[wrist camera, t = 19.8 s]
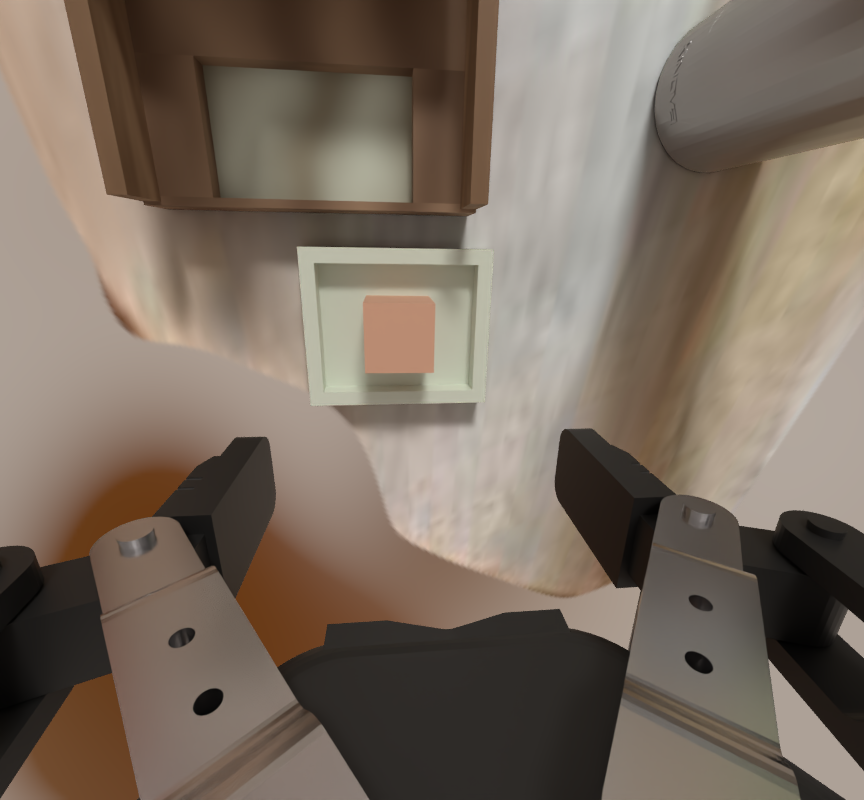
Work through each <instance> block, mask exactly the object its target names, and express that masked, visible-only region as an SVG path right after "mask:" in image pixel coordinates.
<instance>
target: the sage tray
mask: <svg viewBox="0 0 864 800" xmlns="http://www.w3.org/2000/svg"><path fill="white" fill-rule="evenodd" d="M297 255H298V267H299V278H300V290H301V301H302V313H303V324H304V336H305V347H306V359H307V370H308V381H309V393H310V403H311V406H332V405H381V404H430V403H478V402H485V389H486V372H487V355H488V339H489V322H490V306H491V289H492V272H493V256H494V250H486V249H421V248H356V247H297ZM366 295H384V296H429V297H430V298H431V299H432V300H433V301H434V303H435V343H434V373H365V355H364V325H363V301H364V299H365V297H366Z"/></svg>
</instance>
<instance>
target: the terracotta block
mask: <svg viewBox="0 0 864 800" xmlns="http://www.w3.org/2000/svg"><path fill="white" fill-rule="evenodd" d="M363 325H364V355H365V373H434V343H435V303H434V301H433V300H432V299H431V298H430V297H429V296H384V295H366V297H365V299H364V301H363Z"/></svg>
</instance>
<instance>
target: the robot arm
mask: <svg viewBox="0 0 864 800" xmlns="http://www.w3.org/2000/svg"><path fill="white" fill-rule="evenodd" d="M655 120H656V128H657V131H658V134H659V138H660V141H661V143H662V144H663V146H664V148H665V150H666V152H667V153H668V154H669V155H670V156H671V157H672V158H673V159H674V161H675V162H676V163H678V164H680V165H681V166H683V167H685V168H686V169H689V170H692V171H696V172H709V173H711V172H716V171H720V170H725V169H729V168H734V167H738V166H743V165H747V164H752V163H756V162H762V161H766V160H771V159H775V158H779V157H784V156H788V155H792V154H797V153H801V152H805V151H810V150H814V149H818V148H823V147H827V146H832V145H836V144H840V143H845V142H849V141H853V140H858V139H862V138H864V0H731V1H729V2H728V3H727V4H725V5H724V6H723V7H721V8H720V9H718V10H717V11H716V12H714V13H713V14H712V15H710V16H709V17H707V18H706V19H705V20H703V21H702V22H701V23H699V24H698V25H697V26H695V27H694V28H693V29H691V30H690V31H689V32H688V33H687V34H686V35H685V36H684V37H683V38H682V39H681V40H680V41H679V43H678V44H677V45H676V46H675V48H674V50H673V51H672V53H671V54H670V56H669V57H668V59H667V61H666V63H665V66H664V68H663V70H662V73H661V75H660V78H659V83H658V87H657V91H656V97H655ZM555 491H556V495H557V498H558V501H559V502H560V504H561V505H562V507H563V508H564V510H565V511H566V513H567V514H568V516H569V517H570V519H571V520H572V522H573V523H574V525H575V527H576V528H577V530H578V531H579V533H580V534H581V536H582V537H583V539H584V540H585V542H586V543H587V545H588V546H589V548H590V549H591V551H592V552H593V554H594V555H595V557H596V558H597V560H598V561H599V563H600V564H601V566H602V567H603V569H604V570H605V572H606V573H607V575H608V576H609V578H610V579H611V581H612V582H613V584H614V585H615V587H616V588H627V587H639V589H640V590H641V592H640V596H639V601H638V605H637V610H636V615H635V619H634V624H633V629H632V634H631V638H630V643H629V648H628V650H626V649H625V648H623V647H621V646H619V645H617V644H615V643H613V642H611V641H608V640H606V639H604V638H602V637H599V636H596V635H593V634H591V633H587V632H583V631H579V630H575V629H569V628H568V626H567V624H566V622H565V619H564V617H563V615H562V613H561V611H560V609H554V610H539V611H523V612H508V613H502V614H499V615H496V616H492V617H489V618H486V619H483V620H480V621H476V622H473V623H470V624H467V625H464V626H460V627H457V628H453V629H438V628H432V627H425V626H418V625H412V624H406V623H399V622H393V621H373V622H358V623H342V624H328V625H327V631H326V637H325V642H324V645H323V646H320V647H317V648H314V649H311V650H309V651H307V652H304V653H302V654H300V655H298V656H296V657H294V658H292V659H290V660H288V661H287V662H285V663H283V664H282V665H280V666H279V667H276V665H275V663H274V662H273V660H272V658H271V657H270V655H269V654H268V652H267V650H266V649H265V647H264V645H263V644H262V642H261V641H260V639H259V637H258V636H257V634H256V632H255V631H254V629H253V628H252V626H251V624H250V622H249V621H248V619H247V617H246V616H245V614H244V613H243V611H242V609H241V608H240V606H239V604H238V603H237V601H236V600H235V598H236V595H237V593H238V591H239V589H240V586H241V584H242V582H243V580H244V577H245V575H246V573H247V571H248V568H249V566H250V564H251V561H252V559H253V557H254V555H255V553H256V550H257V548H258V546H259V544H260V541H261V539H262V537H263V534H264V532H265V530H266V528H267V525H268V523H269V521H270V519H271V516H272V514H273V511H274V508H275V500H276V490H275V482H274V474H273V466H272V458H271V451H270V444H269V441H268V439H267V437H236V438H235V439H234V440H233V441H232V442H231V444H230V445H229V446H228V447H227V448H226V450H225V451H224V452H223V453H222V454H221V456H214V457H212V458H210V459H208V460H207V461H205V462H203V463H202V464H200V465H198V466H197V467H196V468H195V469H194V470H193V471H192V472H191V473H190V475H189V476H188V477H187V478H186V480H184V481H183V482H182V484H181V485H180V486H179V487H178V490H176V491H174V493H173V494H172V495H171V496H170V497H169V498H168V499H167V500H166V502H165V503H164V504H163V505H162V506H161V507H160V509H159V510H158V511H157V512H156V513H155V514H154V515H153V516H152V517H150V518H143V519H139V520H136V521H132V522H129V523H127V524H124V525H121V526H119V527H117V528H115V529H113V530H111V531H110V532H108V533H106V534H105V535H103V536H102V537H101V538H100V539H99V540H98V541H97V542H96V543H95V544H94V545H93V547H92V548H91V550H90V556H87V557H83V558H79V559H75V560H70V561H65V562H62V563H57V564H53V565H48V566H44V567H40V566H39V564H38V561H37V558H36V556H35V553H34V551H33V550H32V549H30V548H29V547H25V546H7V547H0V798H1V796H2V795H3V794H4V792H5V790H6V789H7V787H8V786H9V784H10V783H11V781H12V780H13V778H14V777H15V775H16V774H17V772H18V771H19V769H20V768H21V766H22V765H23V763H24V761H25V760H26V759H27V757H28V756H29V754H30V752H31V751H32V749H33V748H34V746H35V745H36V743H37V742H38V740H39V739H40V737H41V736H42V734H43V733H44V731H45V729H46V728H47V727H48V725H49V724H50V722H51V721H52V719H53V717H54V716H55V714H56V713H57V711H58V710H59V708H60V707H61V705H62V704H63V702H64V701H65V699H66V698H67V696H68V695H69V693H70V692H71V690H72V688H73V687H74V685H76V684H79V683H82V682H85V681H88V680H91V679H95V678H97V677H101V676H104V675H107V674H110V673H113V678H114V682H115V687H116V691H117V696H118V700H119V705H120V710H121V714H122V719H123V723H124V728H125V732H126V737H127V741H128V745H129V750H130V755H131V760H132V764H133V769H134V773H135V778H136V783H137V787H138V792H139V796H140V797H139V798H138V799H137V800H845V799H844V798H842V797H841V796H839V795H838V794H837V793H835V792H834V791H832V790H831V789H829V788H828V787H826V786H825V785H823V784H822V783H821V782H819V781H818V780H816V779H815V778H813V777H812V776H811V775H809V774H807V773H806V772H805V771H803V770H802V769H800V768H799V767H797V766H796V765H795V764H793V763H792V762H790V761H789V760H787V759H786V758H784V757H783V756H782V753H781V749H780V744H779V736H778V728H777V721H776V714H775V707H774V700H773V692H772V684H771V677H770V670H769V663H768V659H769V660H770V661H771V662H772V664H773V665H774V666H775V667H776V668H777V669H778V671H779V672H780V673H781V674H782V675H783V676H784V678H785V679H786V680H787V681H788V682H789V684H790V685H791V686H792V687H793V688H794V689H795V691H796V692H797V693H798V694H799V695H800V697H801V698H802V699H803V700H804V701H805V702H806V703H807V705H808V706H809V707H810V708H811V709H812V711H814V713H815V714H816V715H817V716H818V718H819V719H820V720H821V721H822V722H823V724H824V725H825V726H826V727H827V728H828V729H829V730H830V732H831V733H832V734H833V735H834V736H835V738H836V739H837V740H838V741H839V742H840V743H841V745H842V746H843V747H844V748H845V749H846V751H847V752H848V753H849V754H850V755H851V756H852V757H853V759H854V760H855V761H856V762H857V763H858V765H859V766H860V767H861V768H862V769H863V770H864V658H863V657H862V656H861V655H860V654H858V653H857V652H856V651H855V650H854V649H853V648H852V647H851V646H850V645H849V644H848V643H847V642H845V641H844V640H843V639H842V638H841V637H840V636H839V635H838V634H837V633H838V631H839V629H840V626H841V624H842V622H843V620H844V617H845V615H846V613H847V610H848V609H849V610H850V611H851V612H852V613H854V614H855V615H856V616H857V617H858V618H859V619H861V620H862V621H863V622H864V534H863V533H862V532H860V531H858V530H857V529H855V528H853V527H851V526H850V525H848V524H846V523H843V522H841V521H839V520H836V519H833V518H831V517H827V516H824V515H821V514H817V513H813V512H807V511H796V510H795V511H787V512H784V513H782V514H781V515H780V518H779V521H778V524H777V527H776V530H775V531H771V530H765V529H757V528H751V527H744V526H739V524H738V521H737V519H736V517H735V516H734V515H733V514H732V513H730V512H729V511H728V510H726V509H725V508H723V507H722V506H720V505H718V504H716V503H713V502H711V501H708V500H706V499H702V498H699V497H695V496H689V495H676V494H675V493H674V492H673V491H672V490H670V489H669V488H668V487H667V486H666V485H665V484H663V483H662V482H661V481H660V480H659V479H658V478H657V477H655V476H654V475H653V474H652V473H649V471H648V470H647V469H646V468H645V467H644V466H643V465H640V463H639V462H638V461H637V460H636V459H635V458H633V457H632V456H631V455H630V454H629V453H627V452H625V451H623V450H621V449H619V448H617V447H615V446H613V445H610V444H609V443H608V442H607V441H605V440H604V439H603V438H602V437H601V436H600V435H599V434H598V433H597V432H595V431H594V430H593V429H565V430H563V431H562V433H561V436H560V442H559V450H558V458H557V466H556V474H555Z"/></svg>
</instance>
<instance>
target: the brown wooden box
mask: <svg viewBox="0 0 864 800" xmlns="http://www.w3.org/2000/svg"><path fill="white" fill-rule="evenodd" d="M64 3H65V7H66V12H67V16H68V21H69V25H70V30H71V34H72V39H73V43H74V48H75V52H76V57H77V62H78V66H79V71H80V75H81V80H82V84H83V89H84V93H85V98H86V102H87V107H88V111H89V116H90V120H91V125H92V130H93V134H94V139H95V143H96V148H97V152H98V157H99V161H100V166H101V170H102V175H103V179H104V184H105V188H106V193H107V194H108V195H113V196H118V197H124V198H129V199H134V200H139V201H143V202H144V205H147V206H153V207H159V208H164V209H180V210H223V211H266V212H309V213H353V214H396V215H439V216H469V215H472V214H474V213H476V209H478V208H480V207H483V206H485V205H487V204H488V195H489V176H490V158H491V139H492V121H493V102H494V83H495V65H496V46H497V28H498V9H499V0H64Z"/></svg>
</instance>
